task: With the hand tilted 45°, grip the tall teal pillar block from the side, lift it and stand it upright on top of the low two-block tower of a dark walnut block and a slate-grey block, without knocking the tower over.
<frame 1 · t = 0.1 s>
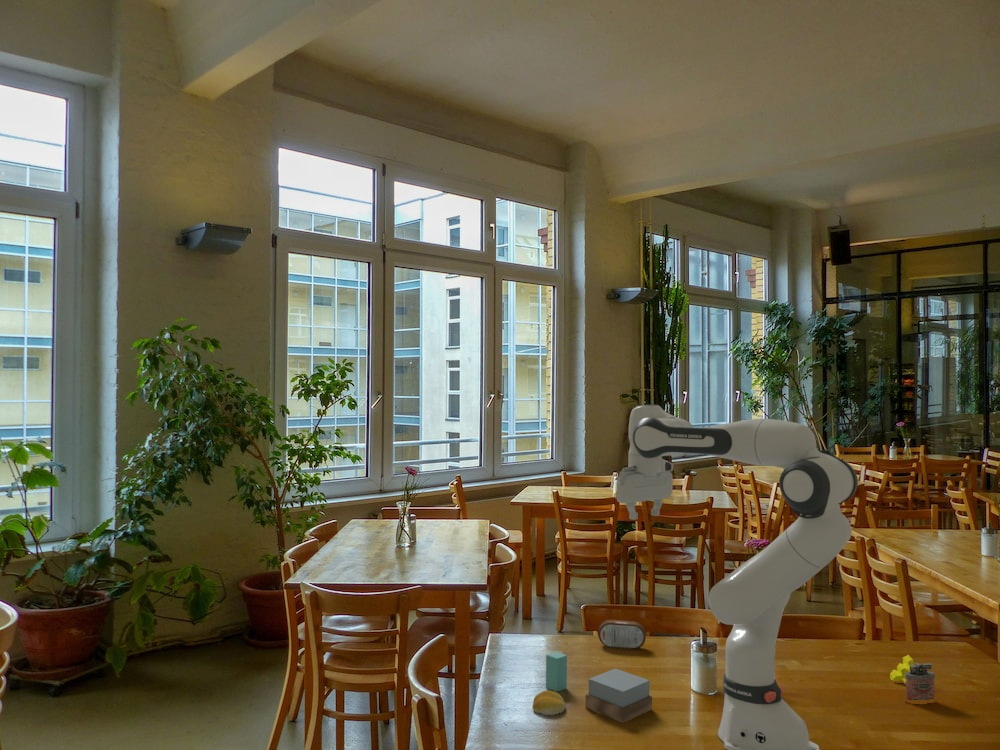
hand: (644, 517, 206), 48 cm above the table, tool pointing down, fingers open, 8 cm apart
bread roll: (548, 710, 199), on the table
tower top: (618, 695, 199), point 3 cm above the table, touching tower base
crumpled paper: (904, 683, 219), on the table
lighter: (919, 702, 205), on the table
pillar block: (556, 688, 212), on the table
tin: (621, 648, 246), on the table
tower base: (618, 711, 199), on the table, touching tower top
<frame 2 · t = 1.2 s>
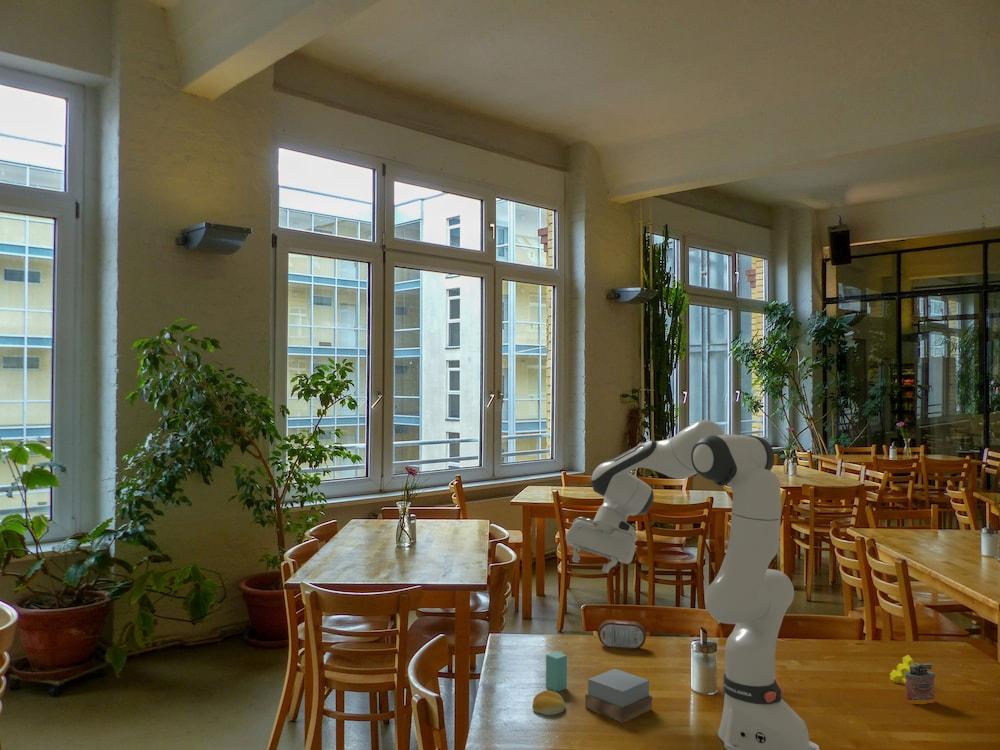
hand: (589, 566, 218), 32 cm above the table, tool tilted 40°, fingers open, 8 cm apart
nothing on the table moved.
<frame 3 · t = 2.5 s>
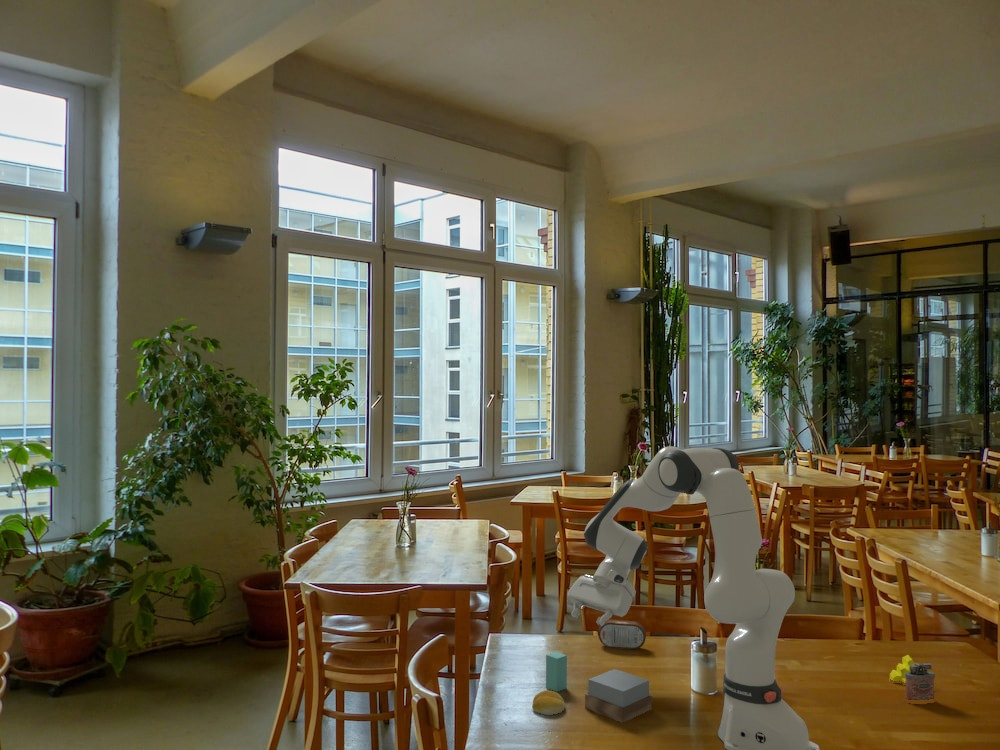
hand: (586, 620, 221), 16 cm above the table, tool tilted 45°, fingers open, 8 cm apart
nothing on the table moved.
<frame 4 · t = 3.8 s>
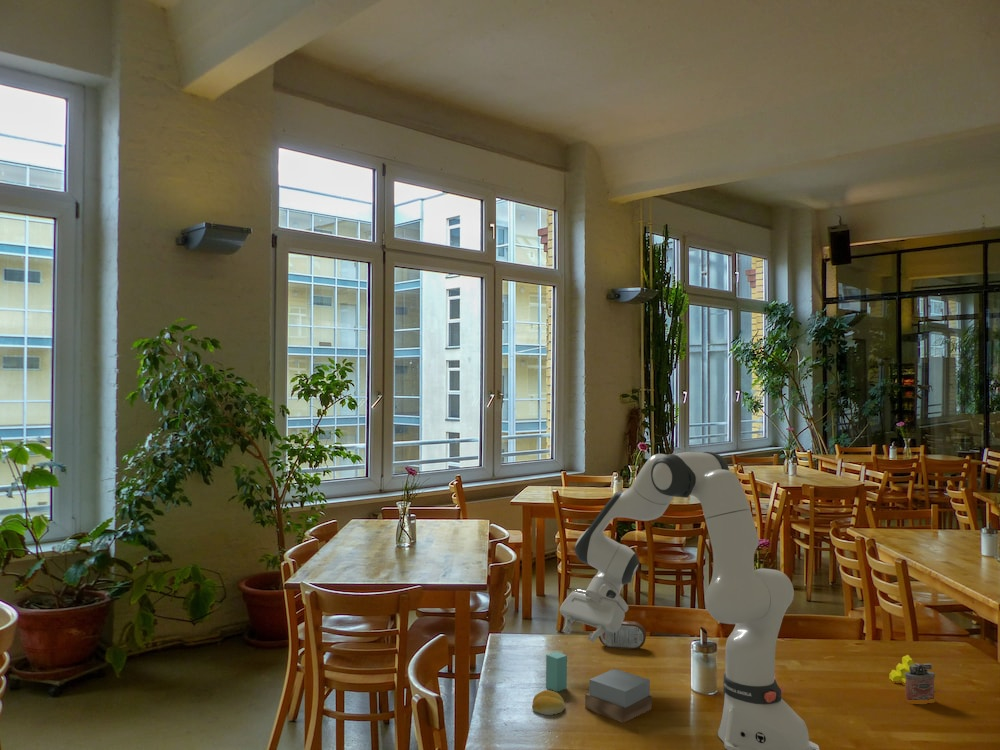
hand: (578, 636, 218), 12 cm above the table, tool tilted 45°, fingers open, 8 cm apart
tower top: (619, 695, 199), point 3 cm above the table
tower base: (618, 710, 199), on the table
everything else where it was.
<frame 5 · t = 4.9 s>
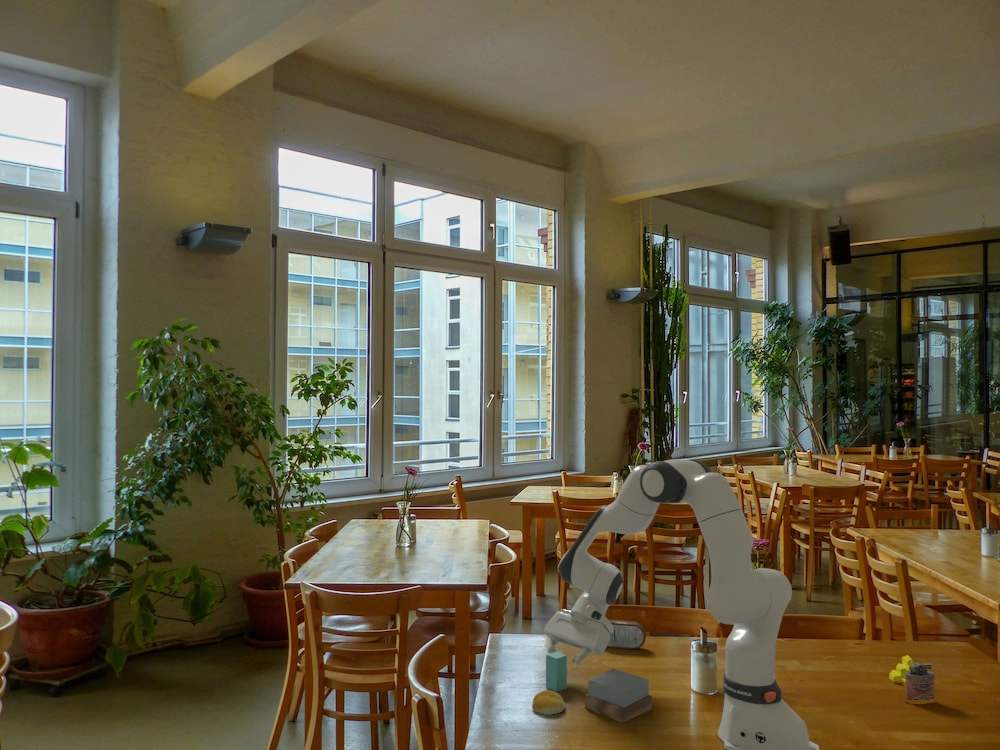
hand: (562, 658, 214), 7 cm above the table, tool tilted 45°, fingers open, 8 cm apart
nothing on the table moved.
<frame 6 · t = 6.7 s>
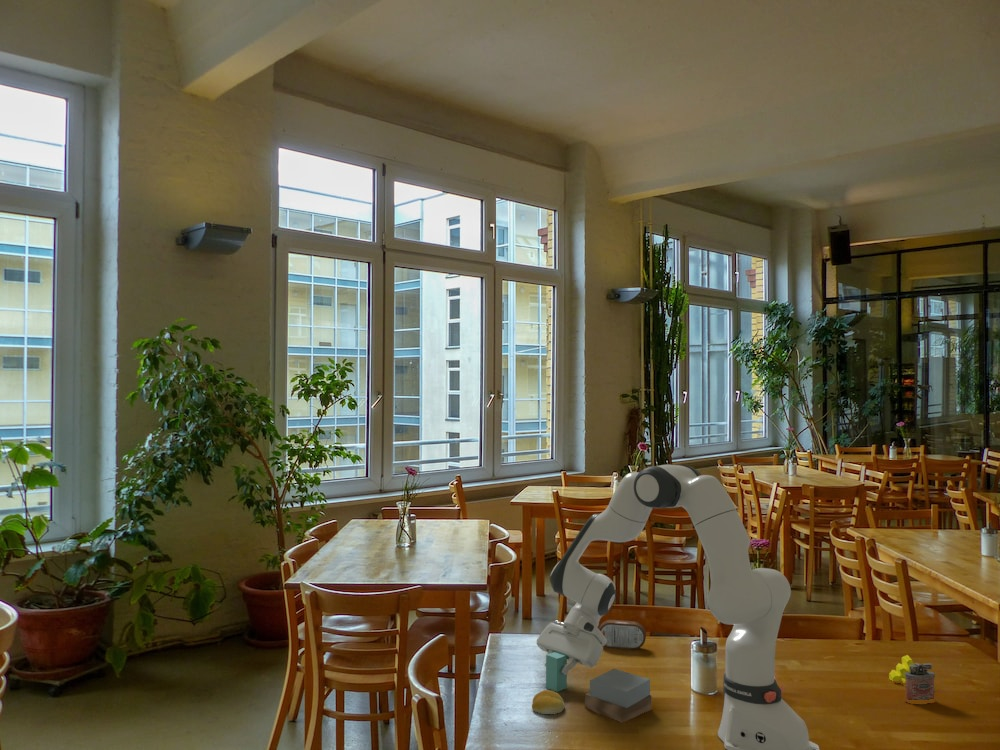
hand: (554, 670, 212), 5 cm above the table, tool tilted 45°, fingers closed on pillar block, 4 cm apart
tower top: (620, 695, 199), point 4 cm above the table, touching tower base
pillar block: (556, 688, 212), on the table, touching gripper
tower base: (618, 710, 199), on the table, touching tower top
everything else where it was.
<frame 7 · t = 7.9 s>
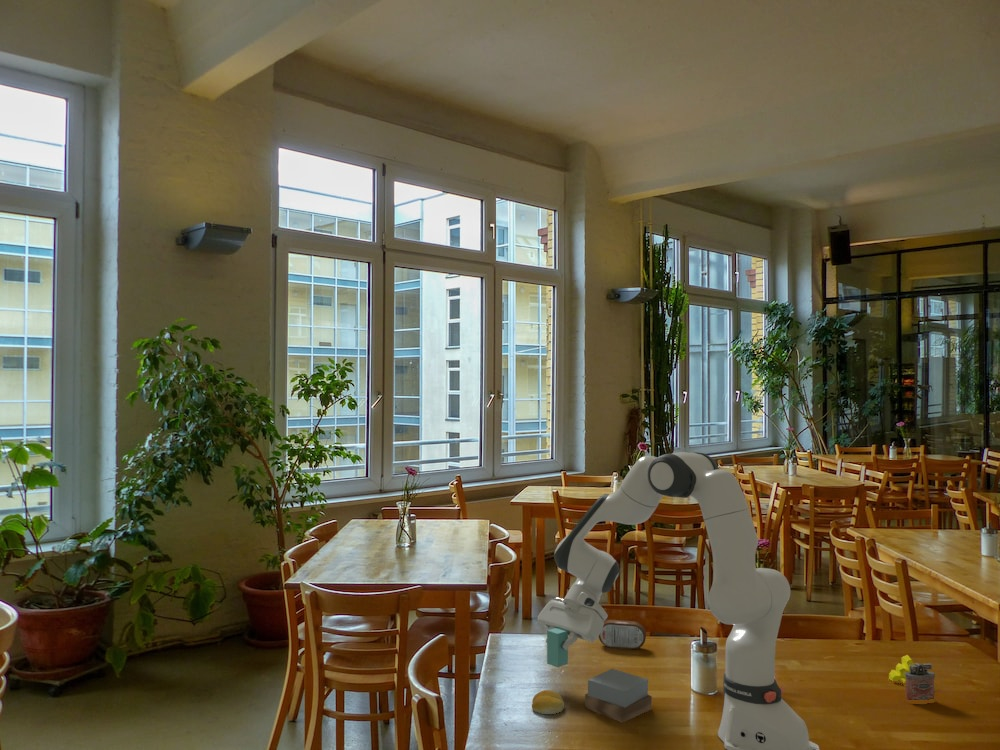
hand: (555, 646, 212), 12 cm above the table, tool tilted 45°, fingers closed on pillar block, 4 cm apart
pillar block: (557, 663, 212), point 7 cm above the table, touching gripper
everything else where it was.
when the fingers open (14 cm above the table, at t = 12.7 s): pillar block drops 2 cm, resting on tower top.
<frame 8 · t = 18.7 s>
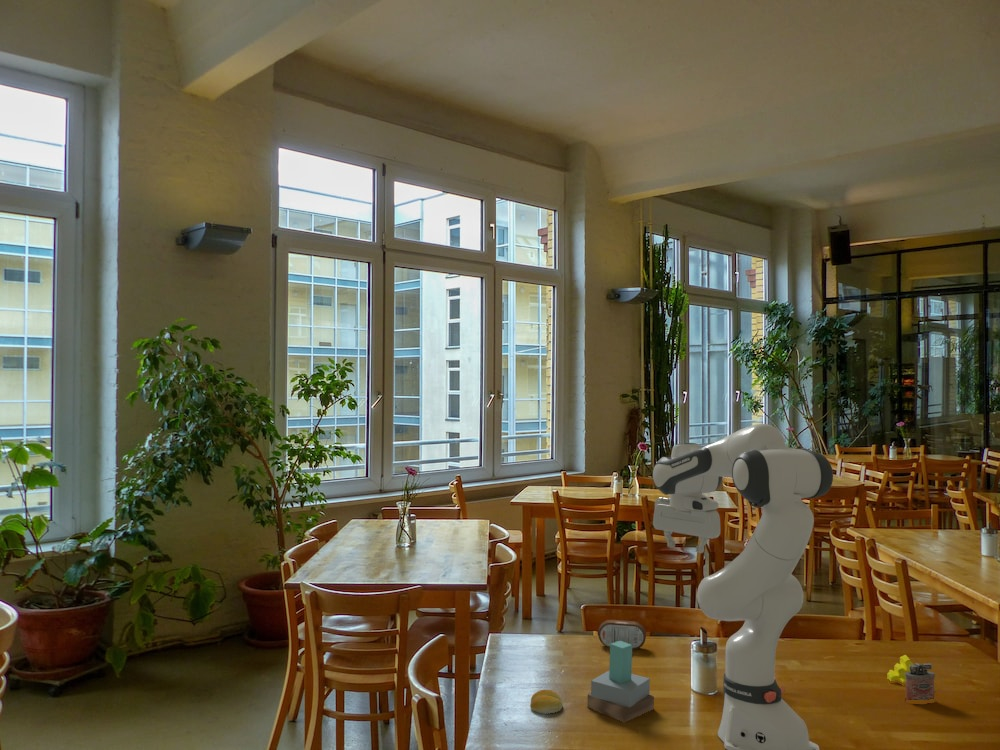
hand: (685, 549, 218), 37 cm above the table, tool pointing down, fingers open, 8 cm apart
tower top: (620, 695, 199), point 3 cm above the table, touching pillar block, tower base
pillar block: (620, 679, 199), point 7 cm above the table, touching tower top
everything else where it was.
at the end: pillar block inside the target area on the tower base (0.1 cm from its centre), point 8.0 cm above the tower base's base; pillar block tilted 1°; tower top moved 0.8 cm from its start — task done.
